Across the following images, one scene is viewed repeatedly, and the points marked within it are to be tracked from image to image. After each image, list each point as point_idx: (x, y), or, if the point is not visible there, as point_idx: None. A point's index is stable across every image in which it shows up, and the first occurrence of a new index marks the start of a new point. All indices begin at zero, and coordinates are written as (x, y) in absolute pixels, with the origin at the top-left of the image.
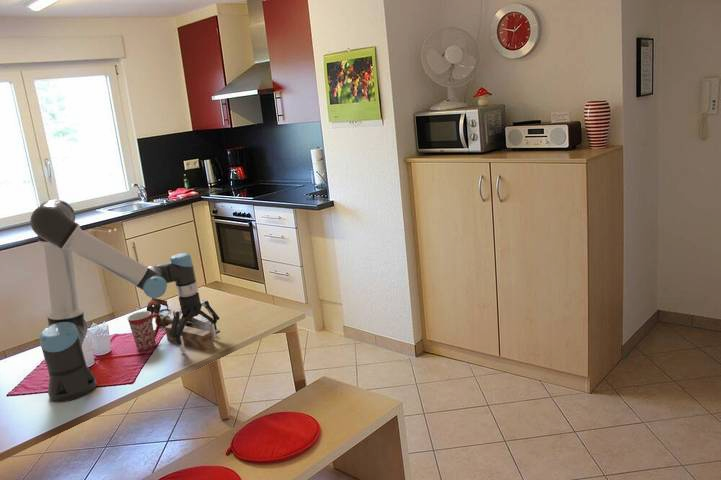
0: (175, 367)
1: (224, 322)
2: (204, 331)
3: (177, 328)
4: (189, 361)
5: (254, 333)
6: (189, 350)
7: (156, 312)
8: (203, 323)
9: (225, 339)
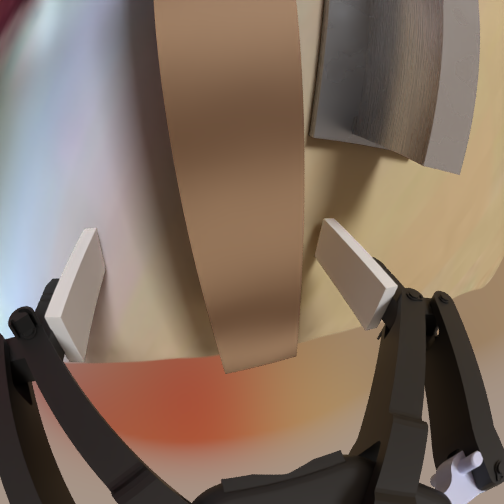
0: None
1: None
2: (283, 325)
3: (43, 394)
4: (99, 343)
5: None
6: (140, 235)
7: None
8: (417, 131)
9: None
